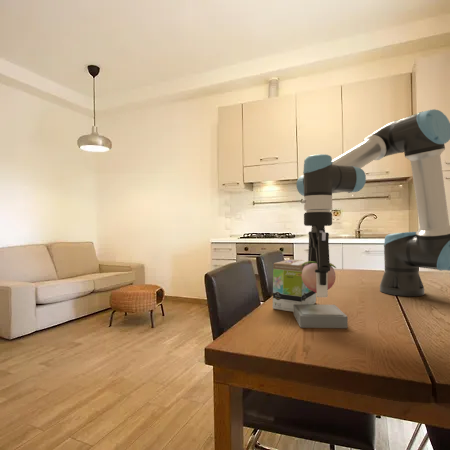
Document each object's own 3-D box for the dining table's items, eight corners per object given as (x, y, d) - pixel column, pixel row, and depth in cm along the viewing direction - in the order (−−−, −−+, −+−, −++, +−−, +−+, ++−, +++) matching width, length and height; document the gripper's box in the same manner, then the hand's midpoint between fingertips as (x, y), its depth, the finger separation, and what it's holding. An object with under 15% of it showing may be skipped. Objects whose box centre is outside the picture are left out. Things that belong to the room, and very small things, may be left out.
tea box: (302, 313, 95) (302, 264, 95) (271, 309, 100) (271, 262, 100) (317, 303, 108) (316, 259, 108) (288, 299, 113) (288, 258, 113)
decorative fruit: (300, 296, 85) (300, 259, 85) (301, 290, 93) (301, 256, 93) (337, 298, 83) (337, 260, 83) (335, 292, 90) (335, 256, 90)
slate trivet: (334, 314, 94) (334, 304, 94) (347, 328, 82) (347, 315, 82) (293, 314, 94) (293, 303, 94) (300, 327, 82) (300, 315, 82)
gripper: (297, 213, 99) (298, 285, 99) (311, 209, 78) (312, 302, 78) (322, 213, 98) (322, 286, 98) (343, 209, 77) (343, 302, 77)
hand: (318, 293), depth 88 cm, fingers closed on decorative fruit, 8 cm apart
